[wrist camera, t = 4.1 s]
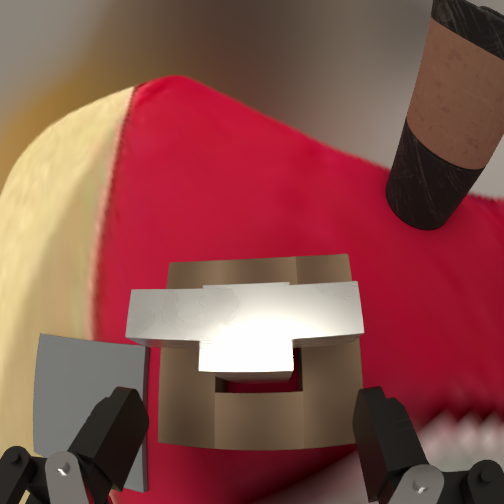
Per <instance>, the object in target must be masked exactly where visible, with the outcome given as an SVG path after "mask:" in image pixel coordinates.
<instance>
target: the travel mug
mask: <svg viewBox="0 0 504 504" xmlns="http://www.w3.org/2000/svg"><path fill="white" fill-rule="evenodd" d="M503 134H504V15H502V14H500V13H498V12H497V11H495V10H493V9H491V8H489V7H486V6H480V7H478V6H476V5H474V4H472V3H470V2H468V1H466V0H433V6H432V11H431V17H430V23H429V28H428V33H427V38H426V43H425V47H424V52H423V56H422V60H421V65H420V68H419V72H418V76H417V80H416V84H415V88H414V91H413V95H412V98H411V102H410V106H409V109H408V112H407V116H406V119H405V123H404V127H403V131H402V135H401V138H400V142H399V145H398V149H397V152H396V156H395V159H394V162H393V166H392V169H391V172H390V175H389V179H388V182H387V186H386V197H387V200H388V203H389V205H390V207H391V208H392V210H393V211H394V213H395V214H396V215H397V216H398V217H399V218H400V219H402V220H403V221H404V222H406V223H407V224H409V225H411V226H413V227H415V228H418V229H422V230H433V229H436V228H439V227H440V226H442V225H443V224H444V223H445V222H446V221H447V220H448V218H449V217H450V216H451V215H452V213H453V212H454V211H455V209H456V208H457V207H458V205H459V204H460V203H461V201H462V200H463V199H464V197H465V196H466V194H467V193H468V192H469V190H470V189H471V187H472V186H473V184H474V183H475V182H476V180H477V179H478V177H479V176H480V174H481V173H482V171H483V170H484V168H485V167H486V165H487V163H488V162H489V160H490V158H491V157H492V155H493V153H494V151H495V149H496V147H497V145H498V144H499V142H500V140H501V138H502V136H503Z"/></svg>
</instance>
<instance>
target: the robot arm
mask: <svg viewBox="0 0 504 504" xmlns="http://www.w3.org/2000/svg"><path fill="white" fill-rule="evenodd" d="M352 425H353V433H354V437H355V441H356V445H357V449H358V454H359V458H360V463H361V467H362V472H363V476H364V481H365V486H366V491H367V496H368V501H369V503H370V502H375V501H379V504H504V472H503V470H502V468H501V466H500V465H499V464H498V463H496V462H495V461H492V460H482V461H479V462H477V463H476V464H475V465H474V466H473V467H472V468H471V469H470V470H468V471H458V472H442V471H440V470H439V469H438V468H436V467H434V466H432V465H430V464H429V463H428V461H427V459H426V457H425V454H424V452H423V449H422V447H421V444H420V442H419V439H418V437H417V435H416V432H415V430H414V428H413V425H412V423H411V421H410V419H409V416H408V414H407V411H406V409H405V407H404V406H403V405H402V404H401V403H400V402H399V401H398V400H397V399H396V398H395V397H394V398H389V399H386V397H385V395H384V392H383V390H382V388H381V387H380V386H377V387H370V388H364V389H359V391H358V395H357V400H356V404H355V409H354V413H353V420H352ZM148 427H149V416H148V413H147V411H146V409H145V406H144V404H143V402H142V399H141V397H140V395H139V392H138V391H137V390H136V389H133V388H126V387H120V386H118V387H116V388H115V389H114V391H113V392H112V394H111V395H110V397H105V398H104V399H102V400H101V401H100V402H99V403H97V404H96V405H95V407H94V409H93V410H92V412H91V413H90V416H88V418H87V419H86V423H84V424H83V426H82V427H81V429H80V431H79V432H78V434H77V435H76V437H75V439H74V440H73V442H72V444H71V445H70V447H69V448H68V450H67V451H59V452H56V453H53V454H52V455H51V456H50V457H49V458H42V457H33V456H31V455H30V454H29V453H28V452H27V450H26V449H25V448H23V447H21V446H13V447H10V448H9V449H7V450H6V451H5V453H4V454H3V456H2V457H1V459H0V504H19V502H20V500H21V498H22V496H23V494H24V492H25V490H27V491H28V492H29V493H30V495H29V497H28V499H27V501H26V503H25V504H113V502H112V500H111V497H110V496H109V492H110V490H111V489H114V490H117V491H120V492H122V490H123V487H124V485H125V483H126V480H127V478H128V475H129V473H130V470H131V468H132V466H133V463H134V461H135V458H136V456H137V454H138V451H139V449H140V447H141V444H142V442H143V440H144V437H145V435H146V432H147V430H148Z"/></svg>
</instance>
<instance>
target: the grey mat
mask: <svg viewBox="0 0 504 504" xmlns="http://www.w3.org/2000/svg"><path fill="white" fill-rule="evenodd" d="M149 352H150V348H149V347H146V346H140V345H127V344H116V343H106V342H97V341H88V340H80V339H73V338H66V337H59V336H53V335H46V334H41V333H40V337H39V344H38V351H37V360H36V369H35V381H34V399H33V442H34V452H35V453H37V454H39V455H41V456H43V457H45V458H49V457H50V456H51V455H52V454H53V453H56V452H59V451H67V450H68V448H69V447H70V445H71V444H72V442H73V440H74V439H75V437H76V435H77V434H78V432H79V431H80V429H81V427H82V426H83V424H84V423H86V419H87V418H88V416H90V413H91V412H92V410H93V409H94V407H95V405H96V404H97V403H99V402H100V401H101V400H102V399H104V398H105V397H110V395H111V394H112V392H113V391H114V389H115V388H116V387H118V386H120V387H126V388H133V389H136V390H137V391H138V392H139V395H140V397H141V399H142V402H143V404H144V406H145V409H146V411H147V386H148V367H149ZM124 488H127V489H131V490H135V491H138V492H142V493H144V492H146V491H148V481H147V451H146V435H145V437H144V440H143V442H142V444H141V447H140V449H139V451H138V454H137V456H136V458H135V461H134V463H133V466H132V468H131V470H130V473H129V475H128V478H127V480H126V483H125V485H124Z"/></svg>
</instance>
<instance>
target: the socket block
mask: <svg viewBox="0 0 504 504" xmlns="http://www.w3.org/2000/svg"><path fill="white" fill-rule="evenodd" d="M350 281H352V277H351V270H350V264H349V258H348V254H338V255H319V256H300V257H281V258H261V259H240V260H219V261H198V262H176V263H170V265H169V272H168V281H167V289H203V285H231V284H256V283H278V282H289V285H303V284H320V283H336V282H350ZM199 351H200V349H175V348H161V359H160V377H159V404H158V442H161V443H167V444H174V445H182V446H190V447H200V448H211V449H227V450H293V449H309V448H320V447H330V446H338V445H346V444H353V443H356V441H355V437H354V433H353V425H352V420H353V413H354V409H355V404H356V400H357V395H358V391H359V389H363V379H362V365H361V352H360V341H359V338H358V339H356V340H355V341H354V342H353V343H350V344H339V345H328V346H315V347H300V348H298V373H299V392H281V393H227V383H228V380H225V379H222V378H219V377H215V376H212V375H209V374H206V373H203V372H200V371H199Z"/></svg>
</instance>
